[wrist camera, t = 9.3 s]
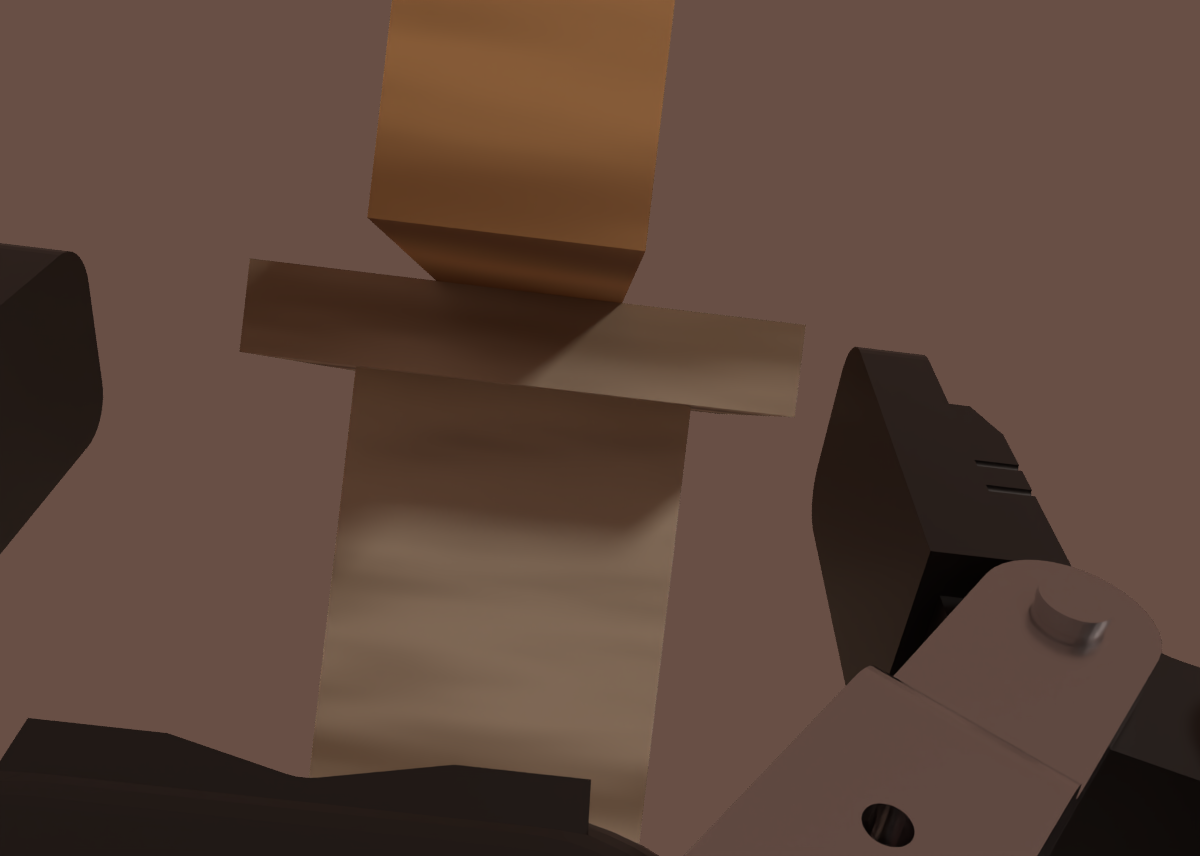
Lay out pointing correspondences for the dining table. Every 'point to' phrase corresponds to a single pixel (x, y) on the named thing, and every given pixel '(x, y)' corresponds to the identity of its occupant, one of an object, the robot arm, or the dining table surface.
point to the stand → (507, 514)
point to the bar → (522, 140)
